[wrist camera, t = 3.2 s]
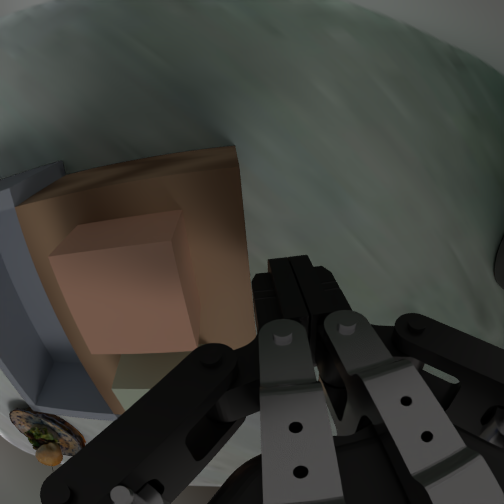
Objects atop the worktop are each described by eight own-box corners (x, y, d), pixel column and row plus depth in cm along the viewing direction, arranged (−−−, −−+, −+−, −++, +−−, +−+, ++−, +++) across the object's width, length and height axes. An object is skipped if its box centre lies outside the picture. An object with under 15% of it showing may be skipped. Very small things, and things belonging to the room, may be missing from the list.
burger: (22, 390, 27) (2, 436, 21) (99, 437, 32) (89, 484, 25) (7, 414, 30) (-8, 452, 24) (70, 453, 35) (61, 490, 28)
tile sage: (209, 343, 16) (208, 386, 13) (223, 397, 18) (224, 435, 16) (123, 348, 16) (111, 388, 13) (149, 399, 18) (143, 436, 16)
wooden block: (234, 145, 17) (239, 166, 12) (255, 350, 25) (263, 409, 19) (65, 175, 17) (14, 207, 12) (128, 358, 24) (114, 414, 19)
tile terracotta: (182, 209, 13) (171, 240, 10) (201, 306, 15) (198, 350, 12) (77, 225, 12) (47, 256, 10) (108, 313, 15) (91, 354, 12)
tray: (62, 160, 16) (9, 188, 11) (132, 366, 25) (119, 421, 20) (-23, 188, 16) (-73, 219, 11) (53, 364, 25) (33, 410, 19)
